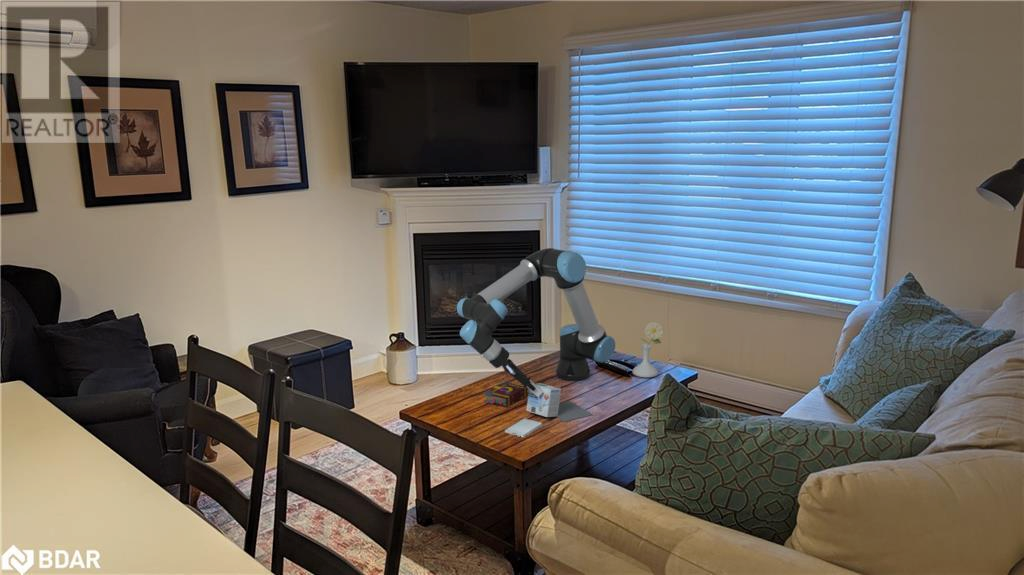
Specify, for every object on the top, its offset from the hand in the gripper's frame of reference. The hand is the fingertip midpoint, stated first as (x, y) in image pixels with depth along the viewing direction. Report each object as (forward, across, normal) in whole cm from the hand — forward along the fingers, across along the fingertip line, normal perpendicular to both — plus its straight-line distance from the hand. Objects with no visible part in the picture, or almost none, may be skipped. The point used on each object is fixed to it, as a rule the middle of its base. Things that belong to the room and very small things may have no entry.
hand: (539, 393), depth 259 cm
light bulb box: (+7, -2, -6) cm, 9 cm away
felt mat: (+15, -5, +1) cm, 16 cm away
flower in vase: (+47, -38, +32) cm, 69 cm away
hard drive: (+2, +8, -13) cm, 15 cm away
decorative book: (0, -21, -14) cm, 26 cm away
